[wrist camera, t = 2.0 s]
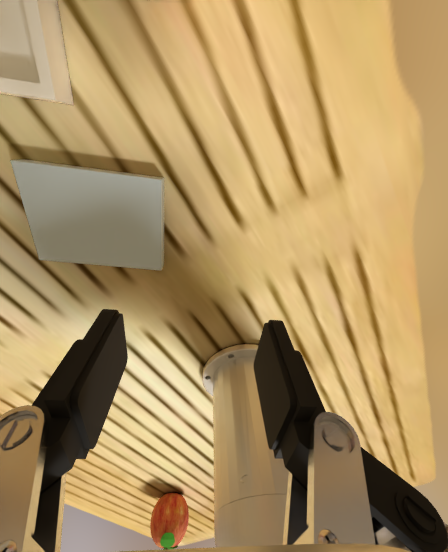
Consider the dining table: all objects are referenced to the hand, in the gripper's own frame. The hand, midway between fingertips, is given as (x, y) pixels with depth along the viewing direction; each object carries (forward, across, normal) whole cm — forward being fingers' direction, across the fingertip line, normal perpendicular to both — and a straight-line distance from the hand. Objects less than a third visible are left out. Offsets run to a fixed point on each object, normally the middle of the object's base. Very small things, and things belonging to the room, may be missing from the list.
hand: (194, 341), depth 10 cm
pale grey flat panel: (+16, +10, 0) cm, 19 cm away
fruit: (+16, +2, +69) cm, 71 cm away
